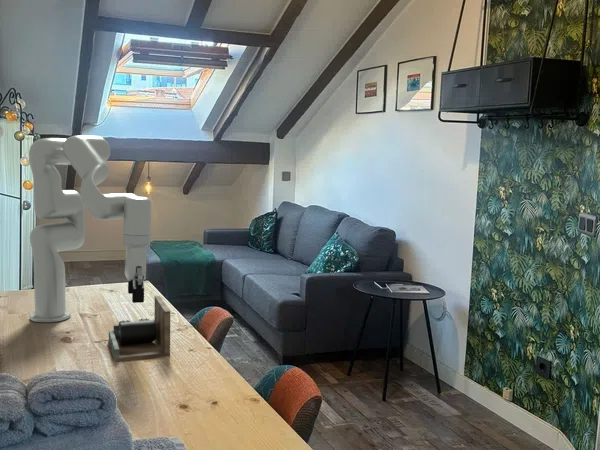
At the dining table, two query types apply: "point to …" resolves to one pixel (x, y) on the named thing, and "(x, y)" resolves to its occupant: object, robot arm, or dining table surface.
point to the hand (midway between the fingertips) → (135, 297)
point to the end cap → (137, 332)
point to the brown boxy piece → (145, 350)
